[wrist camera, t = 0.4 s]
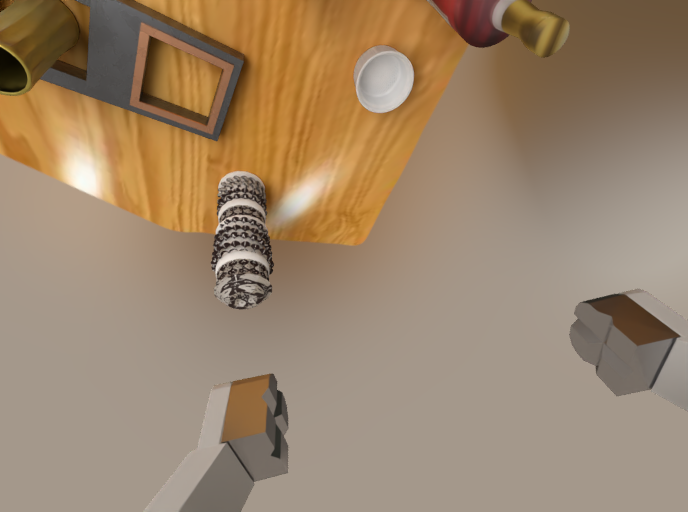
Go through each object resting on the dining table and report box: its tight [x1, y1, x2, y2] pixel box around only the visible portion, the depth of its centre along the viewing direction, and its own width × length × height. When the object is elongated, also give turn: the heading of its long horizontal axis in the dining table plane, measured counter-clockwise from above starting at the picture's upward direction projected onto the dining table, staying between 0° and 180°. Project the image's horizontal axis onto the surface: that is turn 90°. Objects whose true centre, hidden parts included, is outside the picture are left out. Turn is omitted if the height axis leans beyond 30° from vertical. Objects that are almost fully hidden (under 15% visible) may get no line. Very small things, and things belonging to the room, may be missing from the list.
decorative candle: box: [211, 171, 274, 309], centre depth 57 cm, size 9×9×25 cm
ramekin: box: [354, 45, 414, 113], centre depth 52 cm, size 9×9×4 cm
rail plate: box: [40, 0, 244, 141], centre depth 44 cm, size 13×28×3 cm, turn 60°
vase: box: [0, 0, 79, 96], centre depth 37 cm, size 6×6×14 cm
